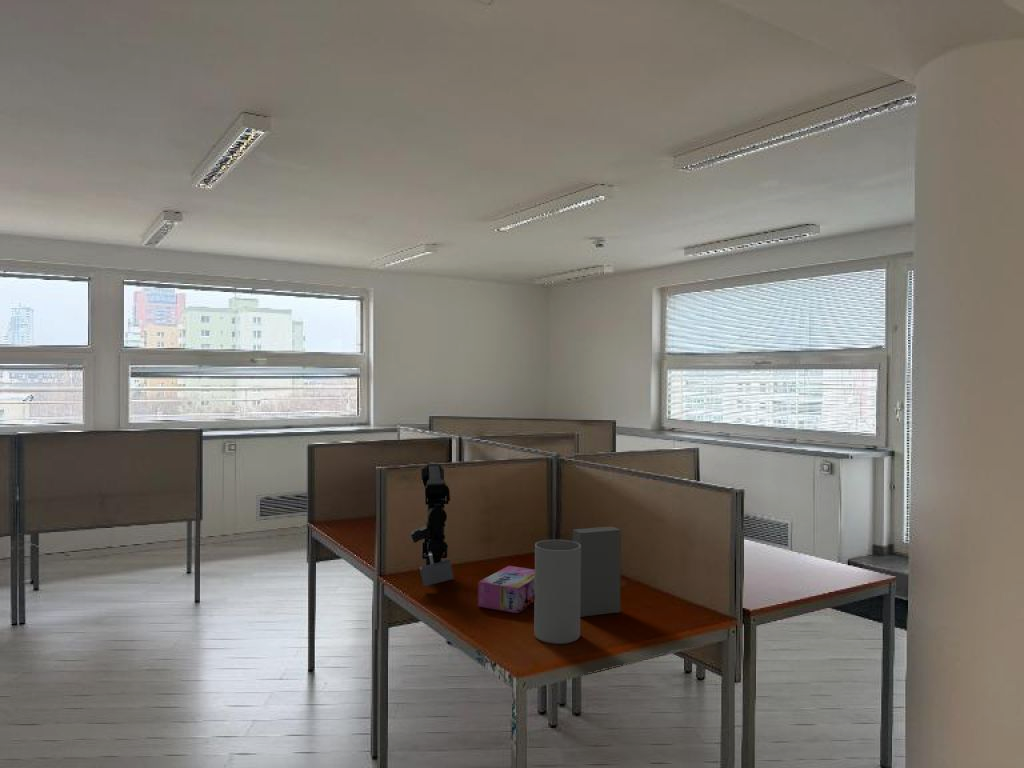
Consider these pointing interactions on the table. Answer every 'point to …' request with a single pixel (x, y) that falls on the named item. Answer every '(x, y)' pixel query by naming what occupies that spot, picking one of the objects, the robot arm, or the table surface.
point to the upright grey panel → (599, 570)
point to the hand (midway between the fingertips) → (435, 565)
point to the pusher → (436, 572)
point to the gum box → (507, 589)
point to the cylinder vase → (557, 591)
